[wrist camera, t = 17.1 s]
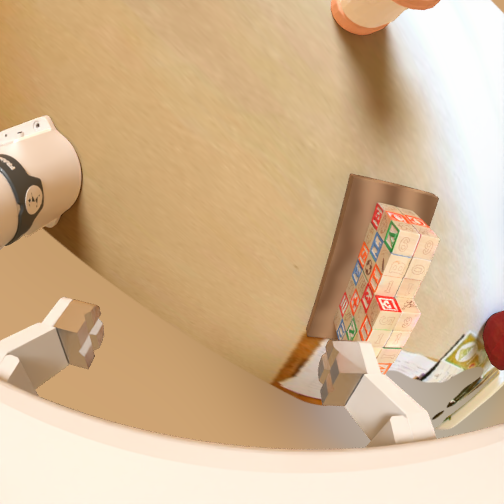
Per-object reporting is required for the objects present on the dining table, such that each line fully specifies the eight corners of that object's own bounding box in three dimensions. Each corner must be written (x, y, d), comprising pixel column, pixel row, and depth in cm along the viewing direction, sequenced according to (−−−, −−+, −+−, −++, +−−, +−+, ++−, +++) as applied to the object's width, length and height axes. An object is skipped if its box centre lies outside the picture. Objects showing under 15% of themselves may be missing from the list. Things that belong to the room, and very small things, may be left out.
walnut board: (306, 328, 55) (307, 336, 53) (350, 173, 41) (353, 177, 40) (376, 334, 55) (379, 341, 54) (432, 193, 42) (438, 198, 40)
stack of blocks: (375, 200, 41) (410, 241, 30) (412, 209, 41) (453, 251, 31) (332, 320, 51) (345, 377, 41) (365, 324, 52) (384, 378, 41)
